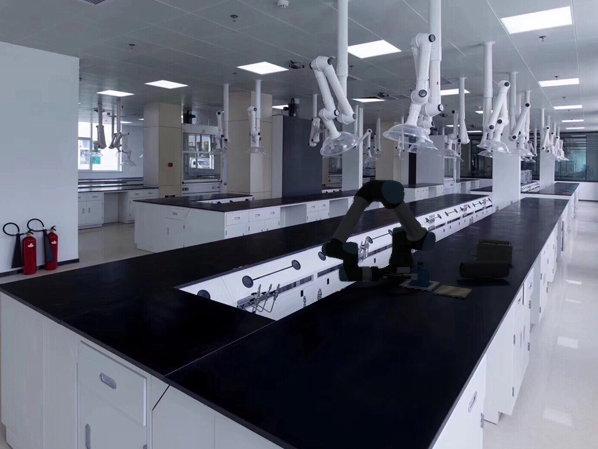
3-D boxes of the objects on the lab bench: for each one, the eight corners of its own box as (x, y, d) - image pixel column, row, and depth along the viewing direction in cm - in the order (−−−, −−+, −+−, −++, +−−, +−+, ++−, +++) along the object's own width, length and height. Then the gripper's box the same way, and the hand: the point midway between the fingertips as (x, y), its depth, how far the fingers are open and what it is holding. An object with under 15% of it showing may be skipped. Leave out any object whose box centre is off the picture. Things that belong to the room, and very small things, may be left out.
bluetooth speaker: (500, 277, 231) (501, 258, 230) (509, 281, 222) (510, 262, 221) (458, 277, 231) (458, 259, 229) (465, 282, 221) (466, 263, 220)
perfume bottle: (419, 288, 213) (420, 263, 211) (410, 284, 218) (411, 261, 216) (429, 286, 215) (429, 262, 214) (420, 283, 221) (420, 260, 219)
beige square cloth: (433, 294, 202) (433, 292, 202) (442, 287, 214) (442, 285, 214) (464, 298, 194) (464, 296, 194) (472, 291, 206) (472, 289, 206)
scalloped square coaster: (399, 286, 215) (399, 284, 215) (410, 280, 227) (410, 278, 227) (430, 291, 206) (430, 289, 206) (439, 284, 219) (439, 282, 219)
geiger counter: (513, 240, 262) (469, 236, 275) (512, 241, 256) (467, 238, 270) (512, 263, 264) (468, 258, 277) (510, 265, 258) (466, 260, 272)
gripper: (366, 275, 228) (406, 274, 228) (374, 288, 203) (420, 287, 204) (366, 260, 227) (407, 260, 227) (375, 272, 202) (420, 271, 203)
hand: (413, 273), depth 215 cm, fingers open, 13 cm apart
